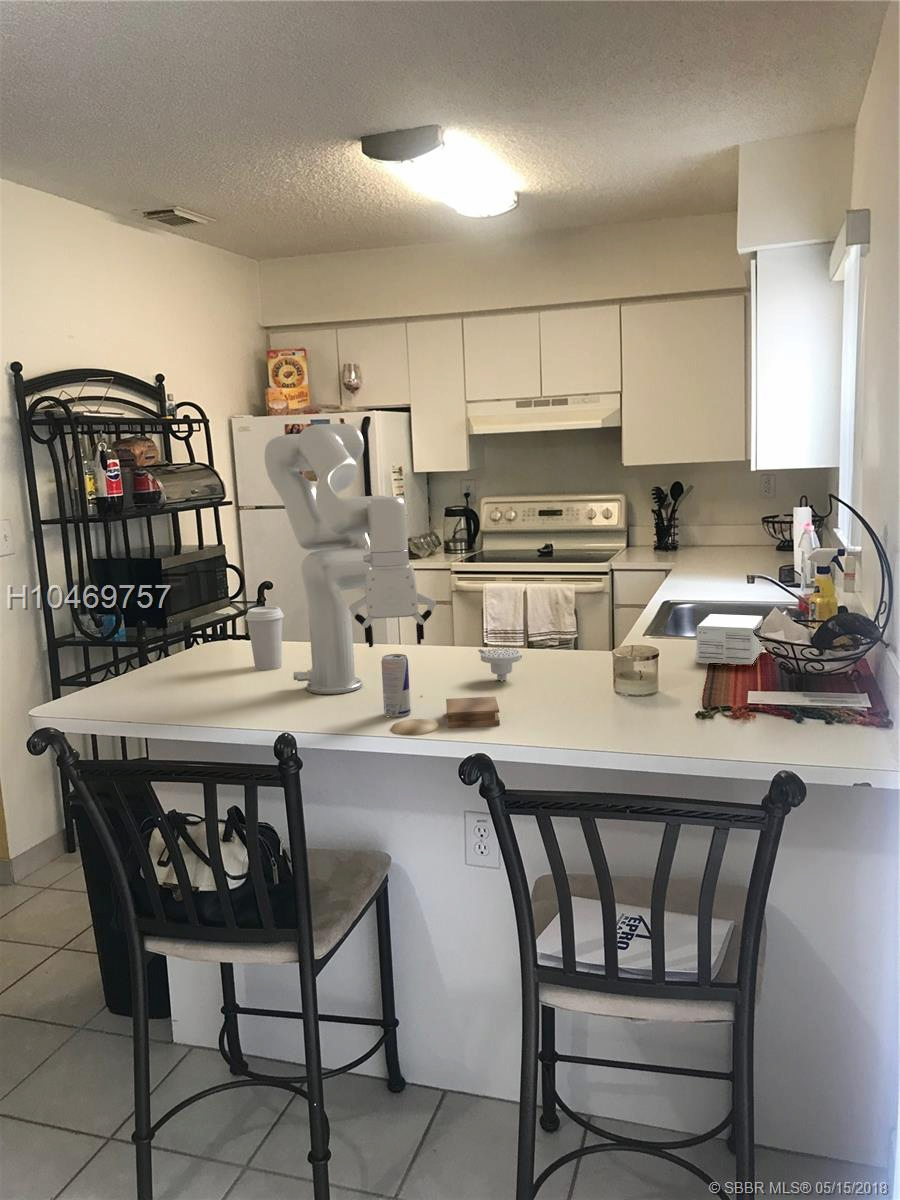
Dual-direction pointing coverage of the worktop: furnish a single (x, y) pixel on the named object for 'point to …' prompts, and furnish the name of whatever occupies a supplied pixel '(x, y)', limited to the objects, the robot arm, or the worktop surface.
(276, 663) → the coffee cup
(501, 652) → the showerhead
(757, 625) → the supplement box
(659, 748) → the worktop surface
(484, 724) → the walnut stand
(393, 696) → the energy drink
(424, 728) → the cork coaster
